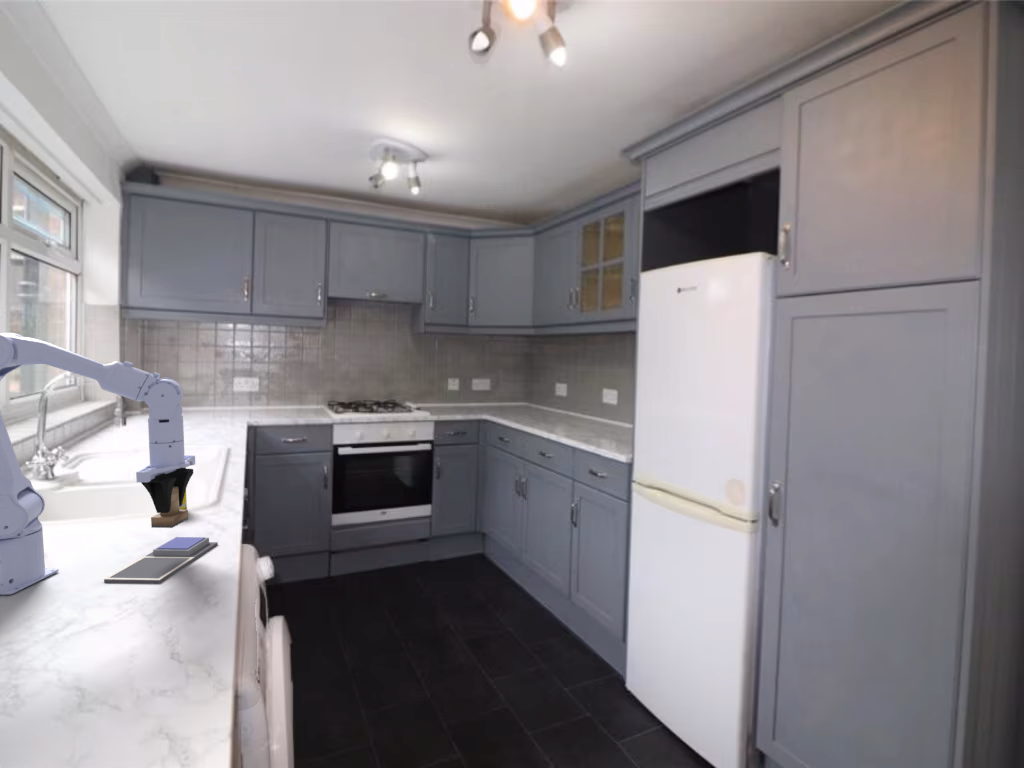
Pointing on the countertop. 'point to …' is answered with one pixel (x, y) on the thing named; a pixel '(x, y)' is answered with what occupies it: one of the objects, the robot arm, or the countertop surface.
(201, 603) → the countertop surface
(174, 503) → the stamp
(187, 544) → the stamp mat
